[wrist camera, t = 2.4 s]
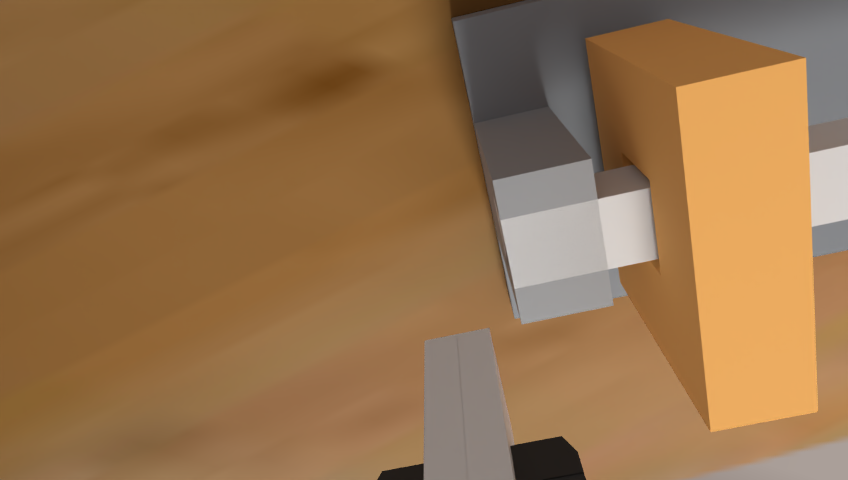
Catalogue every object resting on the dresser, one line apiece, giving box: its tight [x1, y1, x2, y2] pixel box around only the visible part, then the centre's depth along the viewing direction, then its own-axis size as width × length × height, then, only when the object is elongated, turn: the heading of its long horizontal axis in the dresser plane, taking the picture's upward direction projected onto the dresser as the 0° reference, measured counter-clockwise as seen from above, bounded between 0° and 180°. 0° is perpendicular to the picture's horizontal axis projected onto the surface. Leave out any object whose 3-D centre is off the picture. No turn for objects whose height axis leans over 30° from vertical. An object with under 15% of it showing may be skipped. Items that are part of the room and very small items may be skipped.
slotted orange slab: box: [585, 19, 818, 432], centre depth 23 cm, size 3×10×10 cm, turn 13°
